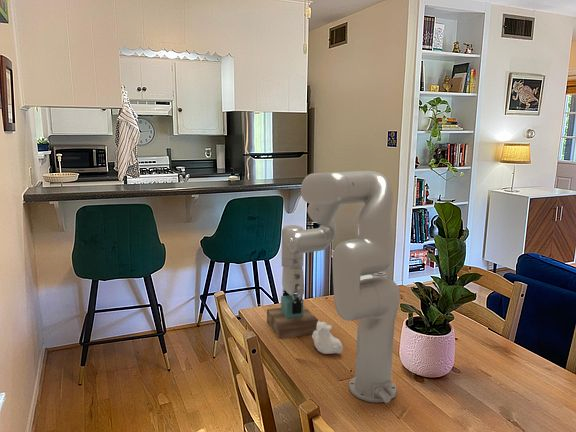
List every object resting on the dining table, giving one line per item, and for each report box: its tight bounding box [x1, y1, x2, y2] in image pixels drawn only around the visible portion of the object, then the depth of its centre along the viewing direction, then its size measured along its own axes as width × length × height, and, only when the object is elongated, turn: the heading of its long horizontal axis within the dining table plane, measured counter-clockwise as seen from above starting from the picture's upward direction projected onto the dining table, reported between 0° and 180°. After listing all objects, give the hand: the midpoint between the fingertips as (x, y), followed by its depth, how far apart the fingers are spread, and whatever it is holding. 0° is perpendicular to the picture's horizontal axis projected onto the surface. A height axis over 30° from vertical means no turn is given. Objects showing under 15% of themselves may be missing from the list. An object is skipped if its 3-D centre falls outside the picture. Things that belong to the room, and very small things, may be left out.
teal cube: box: [280, 295, 304, 319], centre depth 161 cm, size 6×6×6 cm
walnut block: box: [266, 304, 319, 340], centre depth 162 cm, size 14×14×5 cm
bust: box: [311, 320, 344, 355], centre depth 144 cm, size 12×8×11 cm
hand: (291, 308), depth 161 cm, fingers open, 9 cm apart
